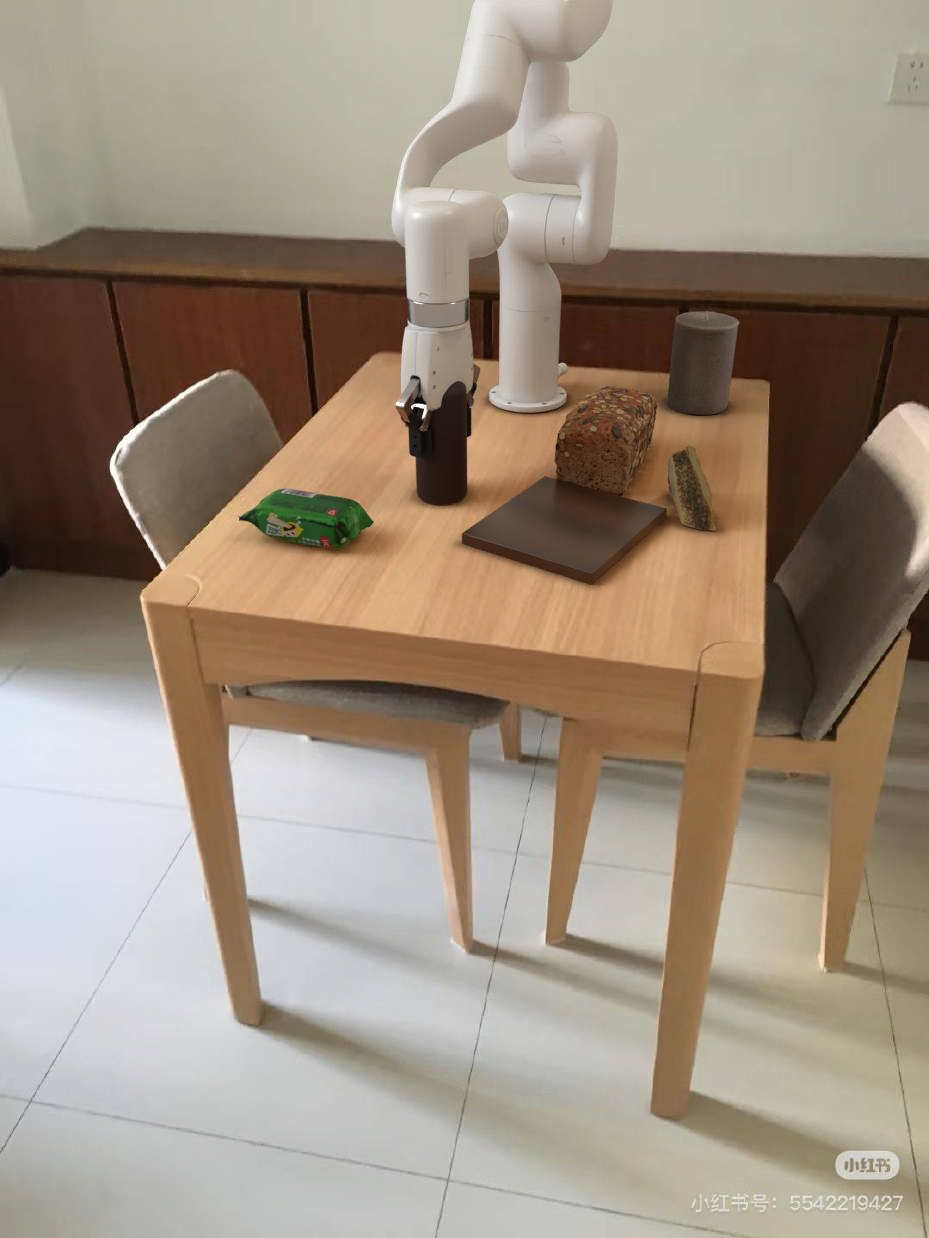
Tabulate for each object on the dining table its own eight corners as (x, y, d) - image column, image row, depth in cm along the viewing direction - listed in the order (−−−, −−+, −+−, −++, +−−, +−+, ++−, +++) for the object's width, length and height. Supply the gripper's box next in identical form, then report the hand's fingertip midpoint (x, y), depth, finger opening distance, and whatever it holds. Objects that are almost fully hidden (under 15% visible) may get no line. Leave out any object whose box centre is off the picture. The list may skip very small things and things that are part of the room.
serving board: (544, 485, 139) (544, 475, 138) (666, 518, 131) (667, 508, 130) (461, 543, 125) (461, 533, 125) (591, 585, 117) (592, 573, 116)
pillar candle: (664, 413, 162) (674, 318, 154) (668, 392, 170) (677, 301, 162) (727, 418, 160) (740, 322, 152) (728, 396, 168) (740, 304, 160)
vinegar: (466, 483, 140) (465, 339, 129) (468, 505, 134) (467, 356, 124) (417, 484, 140) (411, 340, 129) (416, 506, 134) (410, 357, 123)
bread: (626, 499, 135) (632, 428, 130) (548, 488, 139) (551, 418, 133) (655, 447, 150) (662, 381, 145) (585, 438, 153) (589, 373, 148)
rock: (652, 471, 137) (632, 491, 129) (697, 426, 133) (680, 444, 124) (708, 528, 137) (692, 552, 129) (756, 486, 133) (743, 507, 124)
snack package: (266, 515, 132) (261, 478, 130) (377, 533, 128) (374, 495, 125) (238, 540, 127) (232, 502, 124) (353, 559, 122) (349, 520, 119)
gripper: (453, 291, 132) (455, 419, 141) (369, 324, 120) (376, 462, 129) (502, 299, 128) (501, 430, 138) (420, 334, 116) (425, 475, 125)
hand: (441, 445), depth 133 cm, fingers open, 8 cm apart
